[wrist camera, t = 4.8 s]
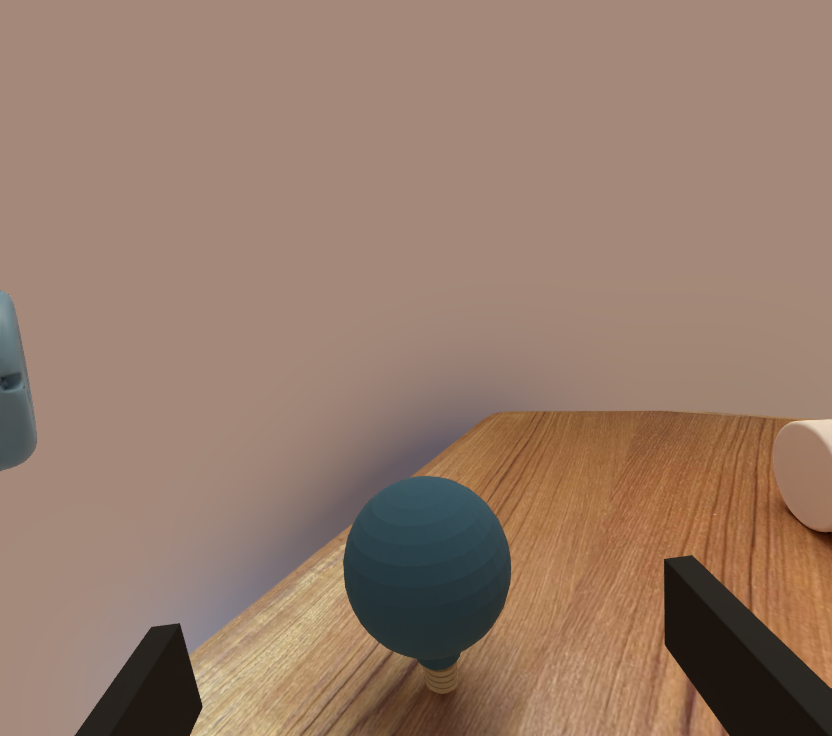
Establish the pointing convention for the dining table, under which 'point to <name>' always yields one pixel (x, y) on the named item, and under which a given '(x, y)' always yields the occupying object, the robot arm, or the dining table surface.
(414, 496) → the dark teal ovoid
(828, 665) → the dining table surface
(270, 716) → the dining table surface
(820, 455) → the mug
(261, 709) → the dining table surface
